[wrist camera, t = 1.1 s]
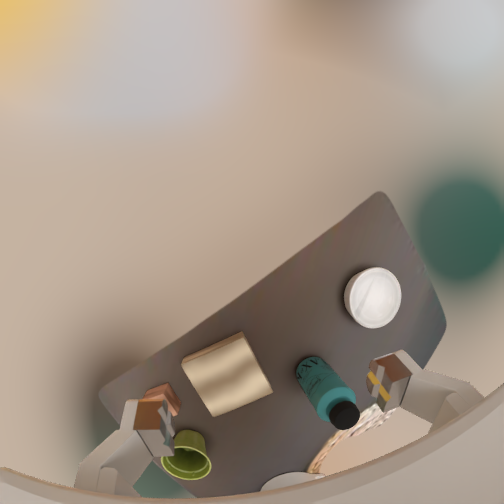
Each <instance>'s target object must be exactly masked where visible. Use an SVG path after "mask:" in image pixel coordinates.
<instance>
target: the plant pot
mask: <svg viewBox="0 0 504 504" xmlns="http://www.w3.org/2000/svg"><path fill="white" fill-rule="evenodd" d="M174 442H175V449H174V456H163V457H161V463H162V465H163V467H164V469H165V470H166V471H167V472H168V473H170V474H171V475H173V476H175V477H178V478H181V479H185V480H197V479H200V478H203V477H205V476H206V475H207V474H208V473H209V472H210V470H211V462H210V459H209V458H208V457H207V454H206V447H205V440H204V438H203V436H202V435H201V434H200V433H198V432H195V431H191V430H183V431H180V432H179V433H178V434H177V435H176V437H175V439H174Z"/></svg>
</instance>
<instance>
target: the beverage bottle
mask: <svg viewBox="0 0 504 504" xmlns="http://www.w3.org/2000/svg"><path fill="white" fill-rule="evenodd" d="M296 376H297V379H298V381H299V383H300V384H299V385H301V386H302V389H303V391H304V392H305V393H306V395H307V397H308V399H309V400H310V402H311V403H312V405H313V406H314V408H315V410H316V412H317V414H318V416H319V417H320V418H321V419H322V420H324V421H327V422H331V423H332V424H333V425H334V426H335V427H336V428H337V429H340V430H346V429H349V428H351V427H353V426H354V425H355V424H356V423H357V422H358V420H359V418H360V412H359V410H358V409H357V407H356V405H355V403H356V396H355V393H354V392H353V391H352V390H351V389H350V388H349V387H348V386H347V385H346V384H345V383H344V382H343V381H342V380H341V378H340V377H339V376H338V375H337V374H336V373H335V372H334V369H333V370H332V368H331V367H330V366H329V365H328V363H326V362H325V361H324V360H323V359H322V358H318V357H310V358H307V359H305V360H303V361H302V362H301V363H300V364H299V366H298V368H297V373H296Z"/></svg>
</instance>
